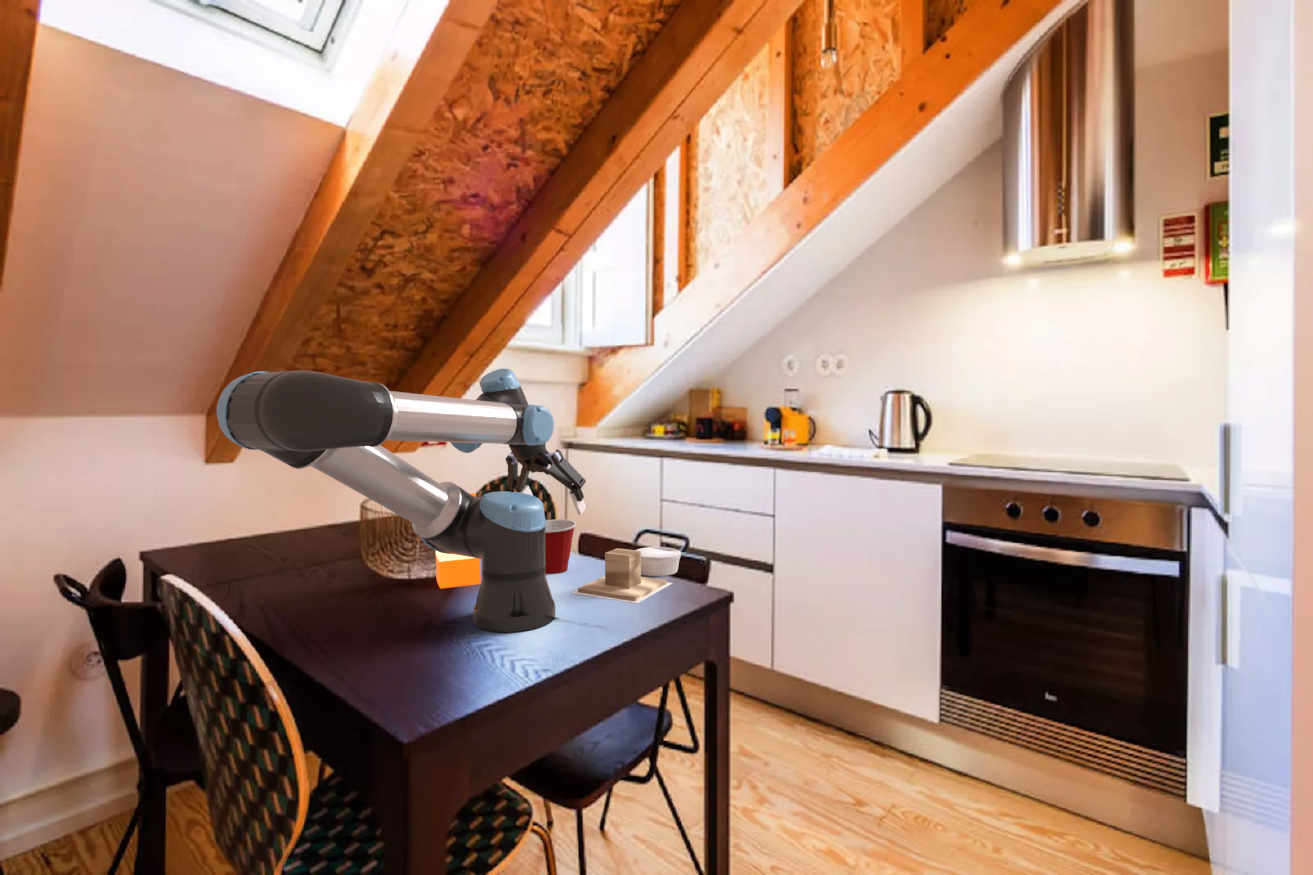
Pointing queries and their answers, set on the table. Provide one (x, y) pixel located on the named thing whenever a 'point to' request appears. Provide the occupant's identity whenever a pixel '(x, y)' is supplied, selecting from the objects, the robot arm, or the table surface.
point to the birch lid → (623, 577)
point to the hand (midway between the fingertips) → (558, 510)
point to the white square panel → (625, 599)
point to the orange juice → (457, 569)
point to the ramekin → (659, 561)
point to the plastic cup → (558, 544)
